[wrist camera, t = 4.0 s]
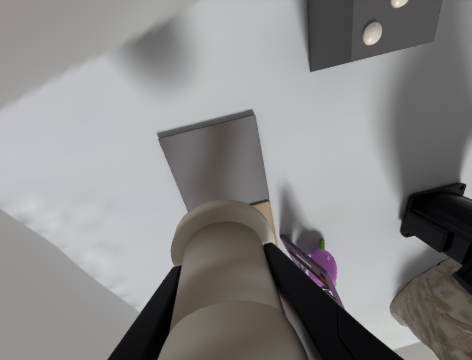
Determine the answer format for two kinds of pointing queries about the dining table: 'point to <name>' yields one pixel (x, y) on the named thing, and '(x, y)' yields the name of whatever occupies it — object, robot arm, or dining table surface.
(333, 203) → the dining table surface
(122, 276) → the dining table surface
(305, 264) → the game card
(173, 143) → the game board
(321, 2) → the die
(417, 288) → the sand castle
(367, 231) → the dining table surface
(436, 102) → the dining table surface
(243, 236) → the pawn
